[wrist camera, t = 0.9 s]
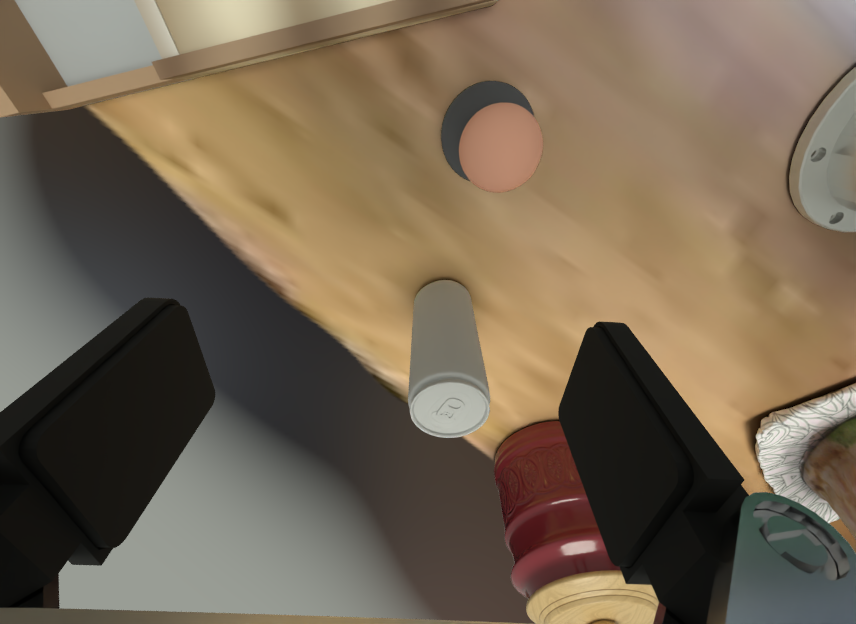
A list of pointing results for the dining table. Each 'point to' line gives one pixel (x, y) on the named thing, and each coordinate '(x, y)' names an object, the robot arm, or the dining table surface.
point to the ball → (500, 147)
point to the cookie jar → (814, 454)
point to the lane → (272, 28)
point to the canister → (560, 537)
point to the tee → (467, 108)
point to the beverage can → (446, 363)
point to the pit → (73, 54)
